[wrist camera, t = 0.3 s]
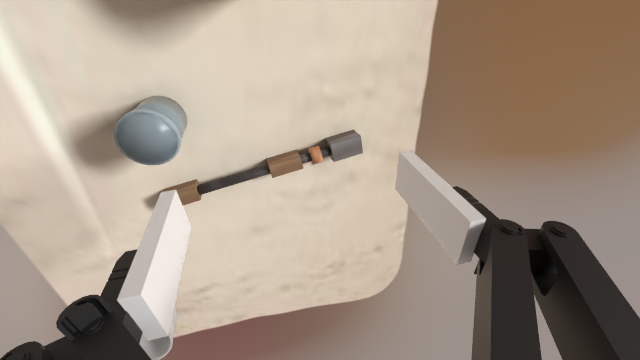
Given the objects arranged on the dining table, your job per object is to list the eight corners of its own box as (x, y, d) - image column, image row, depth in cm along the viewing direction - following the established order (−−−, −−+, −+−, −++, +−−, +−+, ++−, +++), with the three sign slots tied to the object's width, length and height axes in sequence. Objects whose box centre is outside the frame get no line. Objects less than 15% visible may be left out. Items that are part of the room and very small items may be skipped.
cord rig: (158, 187, 42) (154, 198, 40) (353, 129, 47) (361, 136, 44) (168, 203, 44) (164, 214, 41) (355, 146, 48) (363, 153, 46)
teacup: (147, 332, 55) (136, 375, 49) (97, 307, 49) (76, 352, 43) (205, 294, 55) (202, 332, 48) (161, 264, 49) (150, 303, 42)
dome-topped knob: (124, 101, 36) (101, 119, 29) (175, 88, 37) (164, 103, 30) (150, 146, 39) (133, 171, 33) (196, 133, 40) (189, 156, 33)
